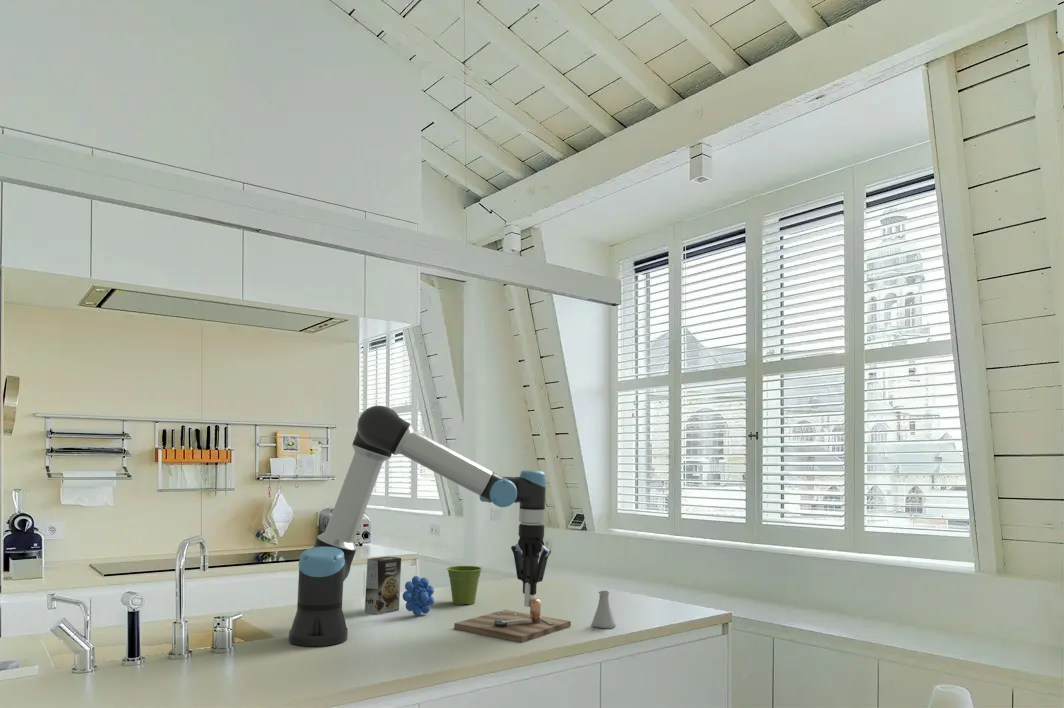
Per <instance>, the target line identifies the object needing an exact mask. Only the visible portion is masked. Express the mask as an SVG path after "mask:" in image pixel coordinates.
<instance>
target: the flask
mask: <svg viewBox="0 0 1064 708" xmlns="http://www.w3.org/2000/svg"><path fill="white" fill-rule="evenodd" d="M598 594H599V599H598V605H597V608H596V611H595V613H594V616H593V619H592V621H591V626H592V627H594V628H599V629H613V628H615V627H616V622H615V618H614V616H613V613H612V609H611V606H610V599H609V595H610V591H609V590H598Z"/></svg>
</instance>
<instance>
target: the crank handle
mask: <svg viewBox="0 0 1064 708" xmlns="http://www.w3.org/2000/svg"><path fill="white" fill-rule="evenodd" d="M541 603H542V599H540V598H535V597H534V599H530V607H529V614H530V618H529V619H519V620H508V621H507V620H503V619H498V620H494V625H496V626H505V625H507V624H514V623H525V622H540V621H542V618H540V616H541V606H542V604H541Z"/></svg>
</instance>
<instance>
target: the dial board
mask: <svg viewBox="0 0 1064 708" xmlns="http://www.w3.org/2000/svg"><path fill="white" fill-rule="evenodd" d="M529 618H530V613H527V612H521V611H515V610H509V609H503V610H500V611H499V610H498V611H495V612H492V613H488V614H484V615H480V616H475V617H473V618H472V617H471V618H469V619H465V620H461V621H456V622H454V625H453V626H454V627H453V628H454V629H453V630H460V631H464V632H469V633H474V634H479V635H485V636H489V637H494V638H498V639H503V640H509V641H513V642H518V643H524V642H528V641H531V640H533V639H537V638H540V637H542V636H545V635H550V634H553V633H555V632H558V631H561V630H564V629H567V628H570V627H571V622H572V621H570V620H567V619H566V620H565V619H561V618H554V617H548V616H543V615H540V618H542V621H540V622H525V623H514V624H507V625H505V626H496V625H494V620H498V619H503V620H507V621H508V620H519V619H529Z"/></svg>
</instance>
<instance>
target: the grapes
mask: <svg viewBox="0 0 1064 708" xmlns="http://www.w3.org/2000/svg"><path fill="white" fill-rule="evenodd" d="M429 584H430V583H429V579H427V578H426V577H422V578H420V577H419V576H418V575H414V576H413V577H412V578H411V580H410V581H409V580H408V581H406V582H405V584H404V588H405V591H403V593H402V599H403V601H405V602H406V603H405V608H406V611H408V612H412V613H413V615H414V616H416V617H420V616H421V614H425V615H426V614H428V613H429V612H430V607H431V606H434V603H435V598H434V597H433V596H432V595H434V592H435V590H434V587H433V586H432V585H431V584H430V585H429Z"/></svg>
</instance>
